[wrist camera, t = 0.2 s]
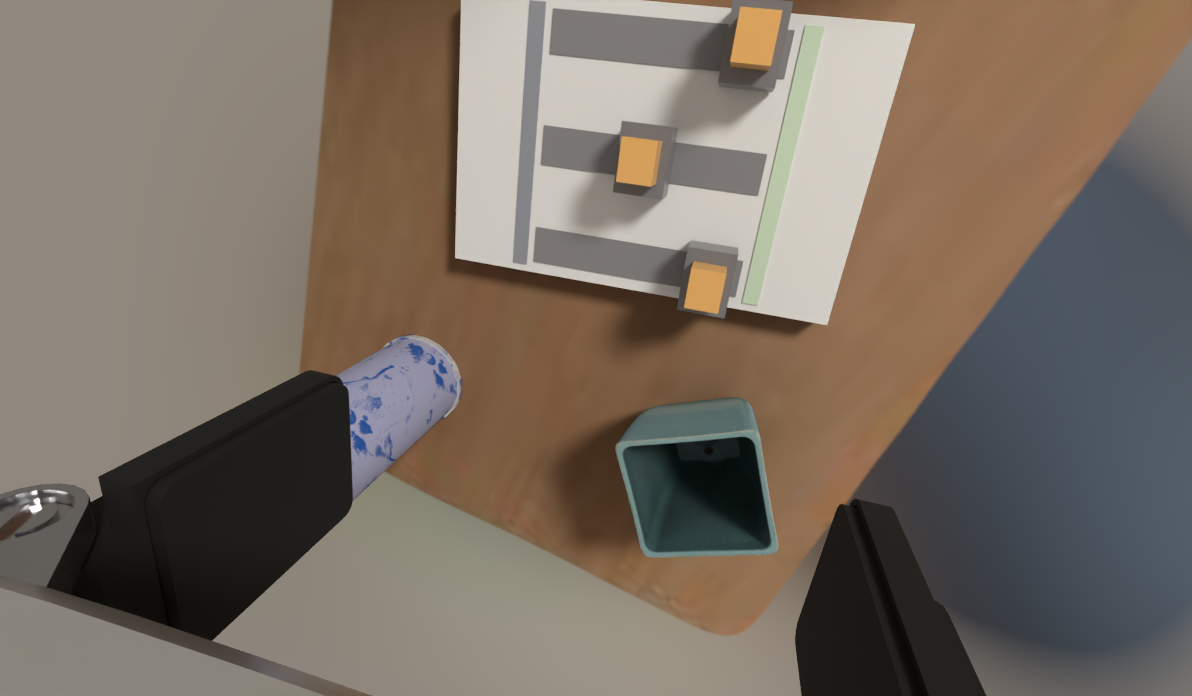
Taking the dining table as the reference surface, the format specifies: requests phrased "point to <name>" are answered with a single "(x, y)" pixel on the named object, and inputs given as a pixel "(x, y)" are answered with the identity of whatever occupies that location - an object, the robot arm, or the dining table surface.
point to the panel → (701, 156)
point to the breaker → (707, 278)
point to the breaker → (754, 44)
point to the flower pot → (698, 480)
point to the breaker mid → (644, 159)
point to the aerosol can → (396, 402)
